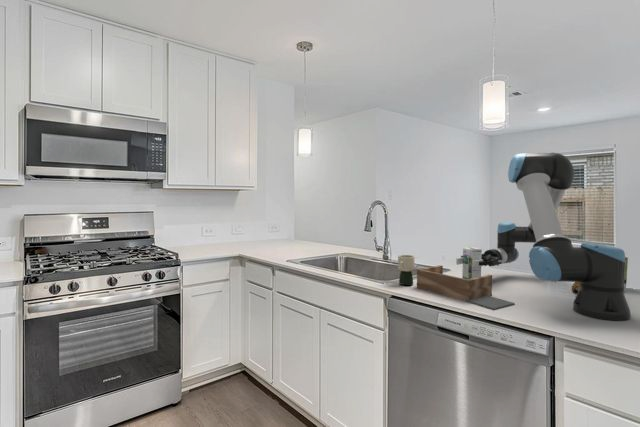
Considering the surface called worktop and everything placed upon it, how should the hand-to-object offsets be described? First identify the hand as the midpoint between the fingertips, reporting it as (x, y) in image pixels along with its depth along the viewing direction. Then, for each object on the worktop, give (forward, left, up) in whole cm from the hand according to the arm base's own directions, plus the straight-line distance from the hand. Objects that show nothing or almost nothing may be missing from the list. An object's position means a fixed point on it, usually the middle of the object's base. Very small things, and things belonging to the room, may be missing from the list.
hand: (465, 262), depth 153 cm
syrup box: (0, -5, -9) cm, 10 cm away
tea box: (-29, -49, -11) cm, 58 cm away
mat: (-19, +10, -11) cm, 24 cm away
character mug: (+17, +18, -11) cm, 27 cm away
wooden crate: (-1, +8, -11) cm, 13 cm away
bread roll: (-31, -35, -11) cm, 48 cm away
